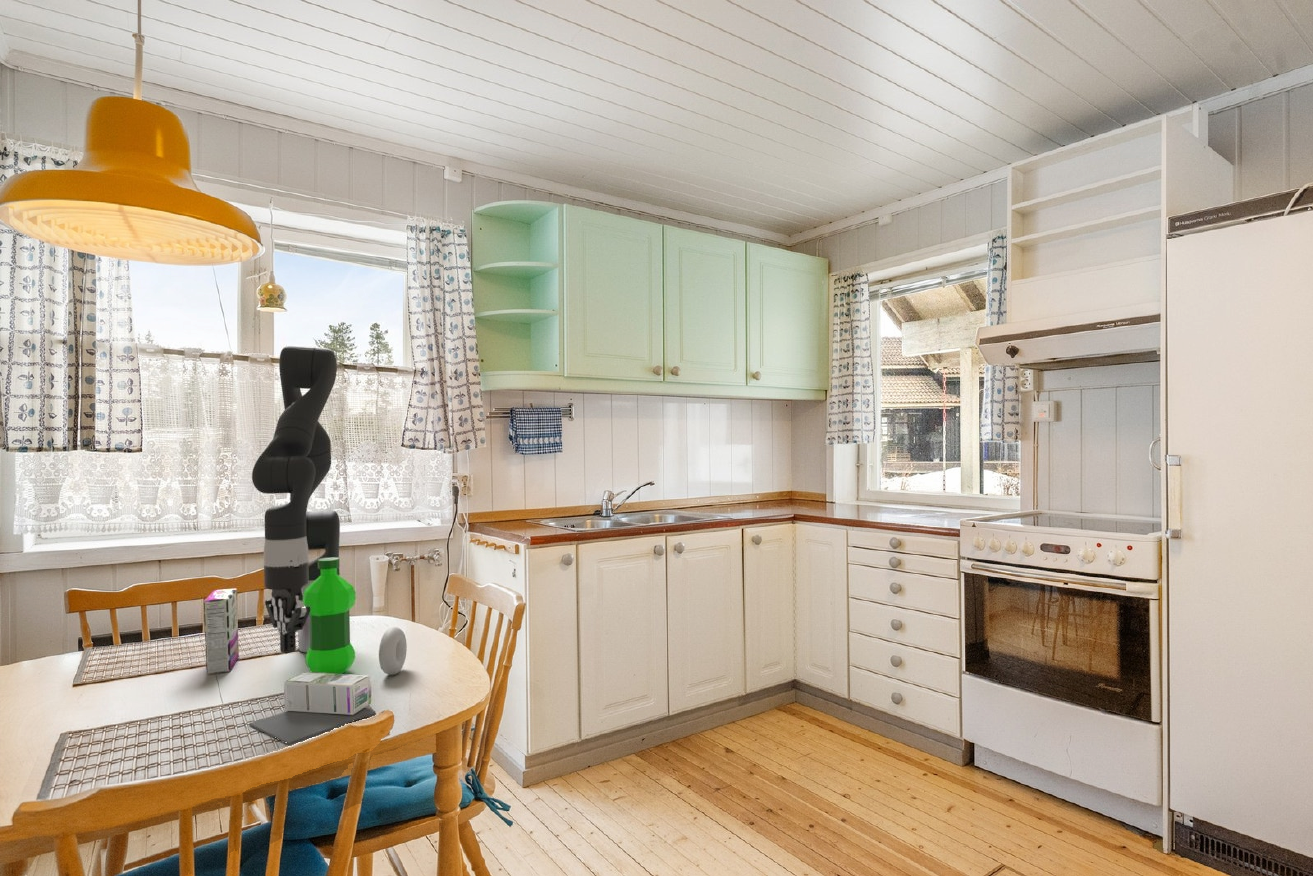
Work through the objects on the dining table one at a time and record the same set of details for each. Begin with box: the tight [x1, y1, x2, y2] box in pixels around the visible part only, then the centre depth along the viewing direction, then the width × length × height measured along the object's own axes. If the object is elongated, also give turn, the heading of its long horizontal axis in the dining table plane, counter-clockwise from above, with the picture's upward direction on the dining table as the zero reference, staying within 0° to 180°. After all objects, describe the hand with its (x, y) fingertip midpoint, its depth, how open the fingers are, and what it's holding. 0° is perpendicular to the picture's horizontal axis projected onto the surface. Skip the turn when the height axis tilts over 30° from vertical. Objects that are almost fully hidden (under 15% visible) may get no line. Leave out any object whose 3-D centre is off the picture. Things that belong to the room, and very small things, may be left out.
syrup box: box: [283, 671, 372, 715], centre depth 135 cm, size 6×6×14 cm
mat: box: [248, 707, 376, 746], centre depth 131 cm, size 14×16×1 cm
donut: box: [378, 626, 408, 676], centre depth 156 cm, size 10×4×10 cm, turn 0°
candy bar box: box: [203, 588, 240, 675], centre depth 162 cm, size 11×5×16 cm, turn 22°
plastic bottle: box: [303, 557, 357, 674], centre depth 156 cm, size 10×10×25 cm
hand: (288, 651), depth 137 cm, fingers closed
